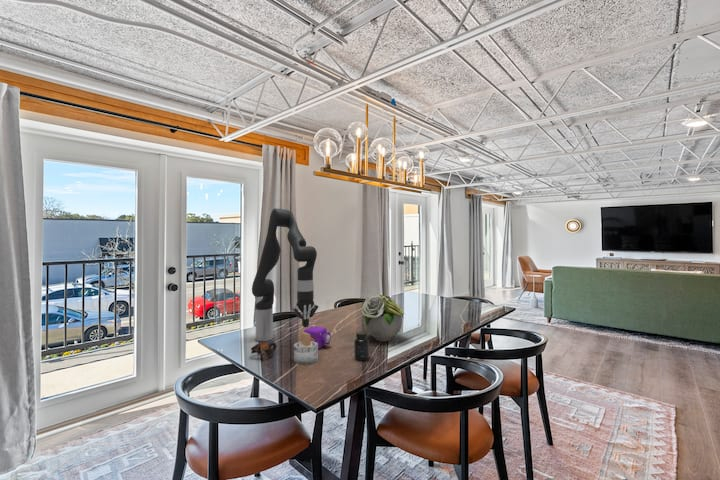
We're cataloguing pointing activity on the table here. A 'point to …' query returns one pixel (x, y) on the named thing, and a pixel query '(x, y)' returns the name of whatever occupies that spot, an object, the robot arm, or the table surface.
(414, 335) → the table surface
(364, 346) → the supplement bottle
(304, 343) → the knob lid with grip
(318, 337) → the toy camera
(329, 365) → the table surface
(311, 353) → the glass candle holder
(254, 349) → the brown teapot
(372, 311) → the flower arrangement
